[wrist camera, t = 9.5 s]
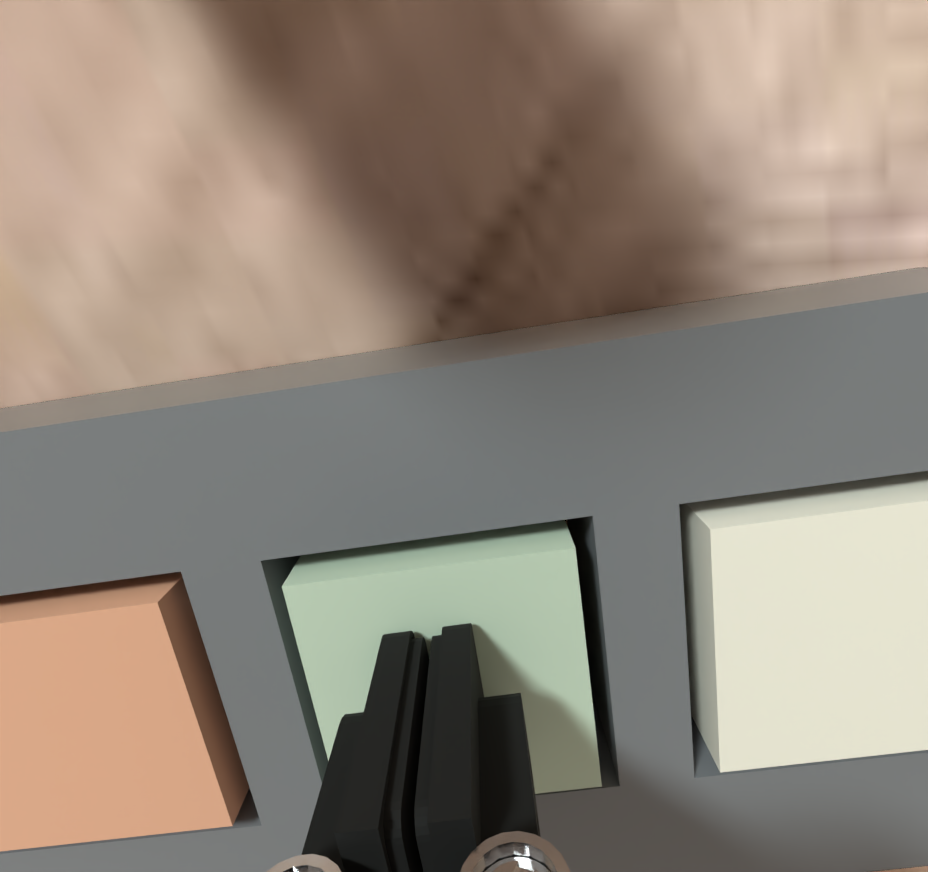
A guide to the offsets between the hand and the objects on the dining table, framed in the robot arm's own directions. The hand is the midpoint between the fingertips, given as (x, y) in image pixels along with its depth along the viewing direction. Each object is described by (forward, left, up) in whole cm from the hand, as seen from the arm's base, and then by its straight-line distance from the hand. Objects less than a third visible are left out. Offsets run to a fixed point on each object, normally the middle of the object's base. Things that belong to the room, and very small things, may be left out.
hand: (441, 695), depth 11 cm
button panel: (0, 0, -4) cm, 4 cm away
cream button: (-8, 0, -4) cm, 9 cm away
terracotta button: (+7, 0, -4) cm, 8 cm away
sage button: (0, 0, -4) cm, 4 cm away
